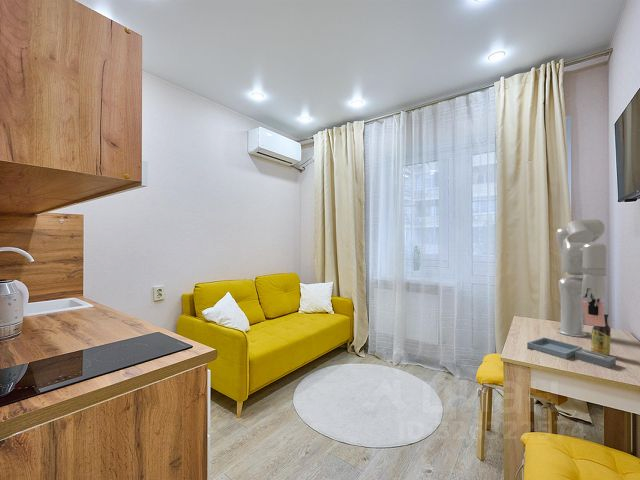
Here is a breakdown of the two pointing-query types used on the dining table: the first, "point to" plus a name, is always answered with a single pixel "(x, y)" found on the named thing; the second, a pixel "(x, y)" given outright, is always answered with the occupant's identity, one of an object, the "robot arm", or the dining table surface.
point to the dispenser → (595, 358)
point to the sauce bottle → (601, 338)
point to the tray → (553, 347)
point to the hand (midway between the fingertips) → (594, 314)
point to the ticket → (594, 319)
